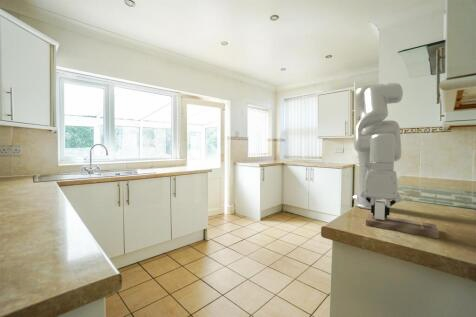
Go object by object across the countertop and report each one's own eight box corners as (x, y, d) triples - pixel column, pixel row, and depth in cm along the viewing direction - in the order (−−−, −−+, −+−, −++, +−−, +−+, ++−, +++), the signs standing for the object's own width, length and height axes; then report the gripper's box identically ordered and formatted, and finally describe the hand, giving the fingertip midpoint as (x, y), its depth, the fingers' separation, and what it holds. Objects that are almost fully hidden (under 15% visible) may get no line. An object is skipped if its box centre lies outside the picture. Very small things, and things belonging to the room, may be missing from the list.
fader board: (365, 225, 81) (366, 219, 81) (369, 218, 88) (369, 213, 88) (438, 238, 69) (439, 232, 69) (435, 230, 76) (435, 224, 76)
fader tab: (374, 218, 81) (374, 202, 81) (375, 215, 85) (376, 199, 85) (384, 220, 79) (384, 203, 79) (385, 216, 83) (385, 200, 83)
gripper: (354, 166, 83) (353, 214, 84) (409, 169, 73) (407, 223, 74) (358, 165, 89) (357, 210, 90) (409, 167, 79) (407, 217, 80)
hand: (380, 215), depth 82 cm, fingers closed on fader tab, 3 cm apart
